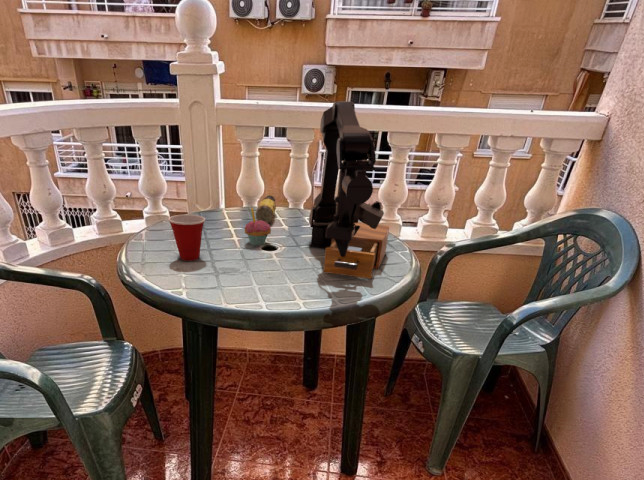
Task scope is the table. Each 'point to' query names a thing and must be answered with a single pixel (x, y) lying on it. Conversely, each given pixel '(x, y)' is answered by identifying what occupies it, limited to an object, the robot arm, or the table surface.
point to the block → (355, 248)
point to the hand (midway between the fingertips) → (343, 256)
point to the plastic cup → (187, 235)
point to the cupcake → (257, 231)
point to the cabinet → (373, 239)
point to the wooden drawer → (352, 259)
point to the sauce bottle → (266, 209)
